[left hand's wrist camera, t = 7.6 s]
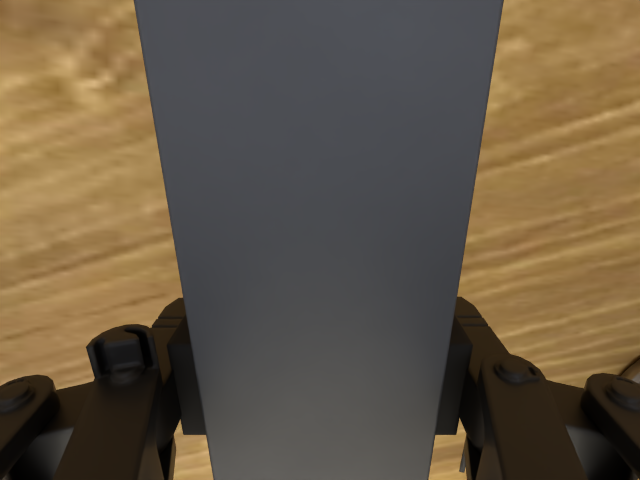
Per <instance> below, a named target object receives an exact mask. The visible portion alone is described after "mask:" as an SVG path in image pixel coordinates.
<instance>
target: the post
mask: <svg viewBox="0 0 640 480" xmlns="http://www.w3.org/2000/svg"><path fill="white" fill-rule="evenodd" d="M503 1H504V0H134V5H135V11H136V17H137V23H138V29H139V35H140V41H141V47H142V53H143V59H144V65H145V71H146V77H147V83H148V89H149V95H150V101H151V106H152V112H153V118H154V124H155V130H156V136H157V142H158V148H159V154H160V160H161V166H162V172H163V178H164V184H165V190H166V196H167V202H168V208H169V214H170V220H171V226H172V232H173V238H174V244H175V250H176V256H177V262H178V268H179V274H180V280H181V286H182V292H183V298H184V304H185V310H186V316H187V322H188V328H189V334H190V340H191V346H192V352H193V358H194V364H195V370H196V376H197V382H198V388H199V394H200V400H201V406H202V412H203V418H204V424H205V430H206V436H207V442H208V448H209V454H210V460H211V466H212V472H213V478H214V480H428V477H429V471H430V465H431V458H432V452H433V446H434V439H435V433H436V427H437V420H438V414H439V408H440V401H441V395H442V389H443V382H444V376H445V369H446V363H447V357H448V350H449V344H450V338H451V331H452V325H453V319H454V312H455V306H456V300H457V293H458V287H459V280H460V274H461V268H462V261H463V255H464V249H465V242H466V236H467V230H468V223H469V217H470V211H471V204H472V198H473V191H474V185H475V179H476V172H477V166H478V160H479V153H480V147H481V141H482V134H483V128H484V122H485V115H486V109H487V103H488V96H489V90H490V83H491V77H492V71H493V64H494V58H495V52H496V45H497V39H498V33H499V26H500V20H501V14H502V7H503Z"/></svg>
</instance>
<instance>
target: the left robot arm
mask: <svg viewBox="0 0 640 480" xmlns="http://www.w3.org/2000/svg"><path fill="white" fill-rule="evenodd" d="M86 349H87V352H88V356H89V359H90V363H91V366H92V370H93V373H94V376H95V379H94V381H93V382H89V383H86V384H82V385H77V386H73V387H68V388H64V389H59V390H56V388H55V385H54V383H53V380H51V379H50V378H49V377H48V376H43V375H32V376H24V377H21V378H17V379H14V380H12V381H9V382H7V383H5V384H3V385H1V386H0V480H173V475H174V465H175V456H176V445H175V439H174V432H175V430H176V428H177V425H178V423H179V421H180V419H181V424H182V430H183V435H206V430H205V424H204V418H203V412H202V406H201V400H200V394H199V388H198V382H197V376H196V370H195V364H194V358H193V352H192V346H191V340H190V334H189V328H188V322H187V316H186V310H185V304H184V298H178V299H176V300H175V301H173V302H172V303H171V304H169V305H168V306H166V307H165V308H164V310H163V311H162V313H161V314H160V315H159V317H158V319H156V321H155V322H154V323H153V325H152V328H149V327H147V326H144V325H140V324H131V325H123V326H119V327H115V328H112V329H110V330H107V331H105V332H103V333H101V334H100V335H98V336H97V337H95V338H94V339H92V340H91V342H90V343H89V344H88V345H87V347H86ZM459 417H460V420H461V422H462V424H463V426H464V429H465V431H466V433H467V434H466V439H465V444H464V449H463V454H462V459H461V464H460V470H459V472H463V473H464V471H465V467H466V474H467V480H637V479H638V478H639V479H640V359H639V360H638V361H637V362H635V363H634V364H633V365H632V366H630V367H629V368H628V369H627V370H626V371H625V372H624V373H623V374H622V375H621V376H618V375H613V374H606V373H600V374H593V375H592V376H590V377H589V378H588V379H587V381H586V384H585V387H584V389H583V388H579V387H574V386H570V385H565V384H561V383H556V382H552V381H549V380H546V378H545V376H544V375H543V374H542V372H541V371H540V369H538V368H537V367H536V366H535V365H533V364H532V363H531V362H529V361H527V360H525V359H523V358H521V357H519V356H515V355H512V354H509V352H508V351H507V350H506V348H505V347H504V345H503V344H502V343H501V341H500V340H499V339H498V337H497V336H496V335H495V333H494V332H493V331H492V329H491V328H490V326H488V324H487V322H486V321H485V320H484V318H482V316H481V314H480V313H479V312H478V310H477V309H476V307H475V306H474V305H472V304H471V303H470V302H468V301H467V300H465V299H464V298H462V297H457V300H456V306H455V312H454V319H453V325H452V331H451V338H450V344H449V350H448V357H447V363H446V369H445V376H444V382H443V389H442V395H441V401H440V408H439V414H438V420H437V427H436V433H435V435H456V433H457V428H458V423H459Z"/></svg>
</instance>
